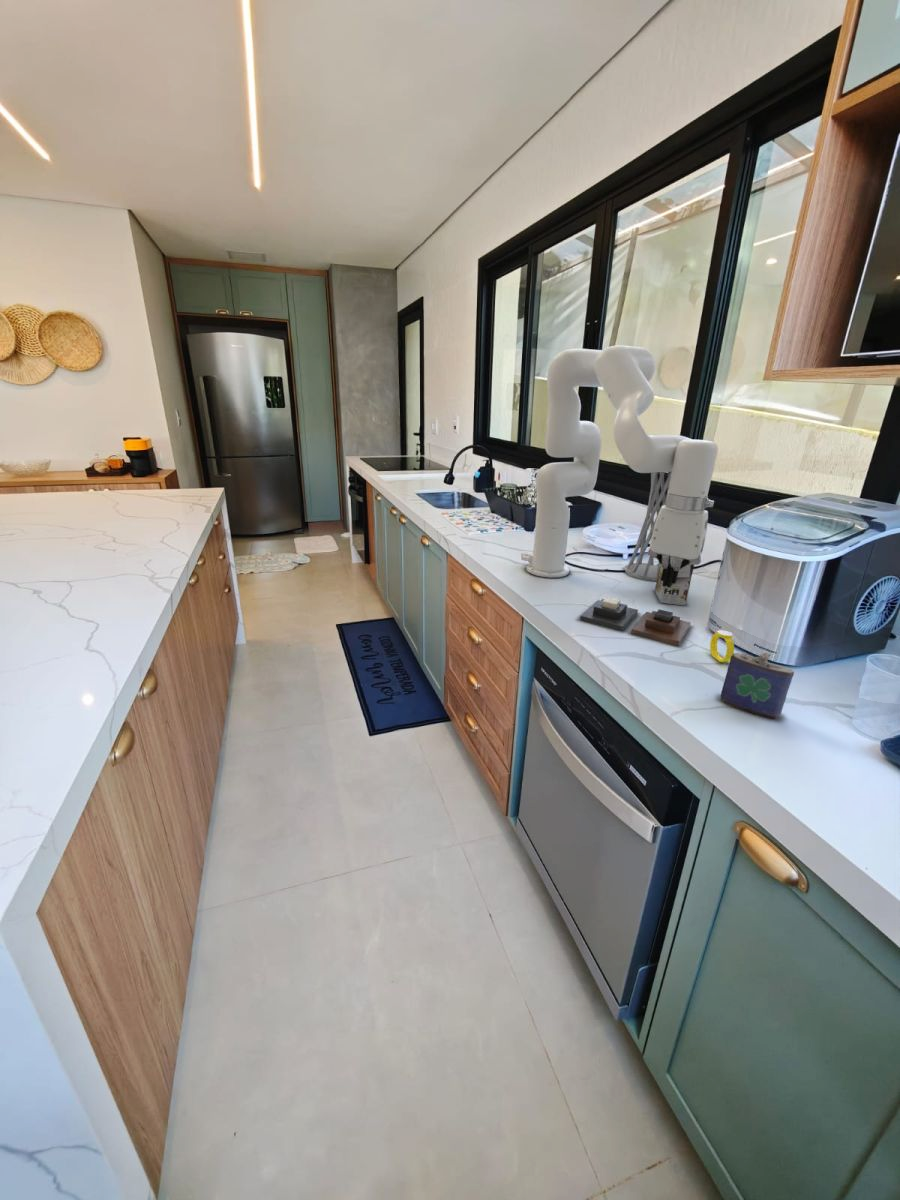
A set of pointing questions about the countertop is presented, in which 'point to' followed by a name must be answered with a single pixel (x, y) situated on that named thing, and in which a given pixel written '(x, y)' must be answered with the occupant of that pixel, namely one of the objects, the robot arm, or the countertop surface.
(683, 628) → the walnut key block
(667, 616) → the dark key
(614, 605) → the ivory key
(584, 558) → the countertop surface
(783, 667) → the flask
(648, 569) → the grey lattice tower
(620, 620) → the black key block
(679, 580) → the coffee box
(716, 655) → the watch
